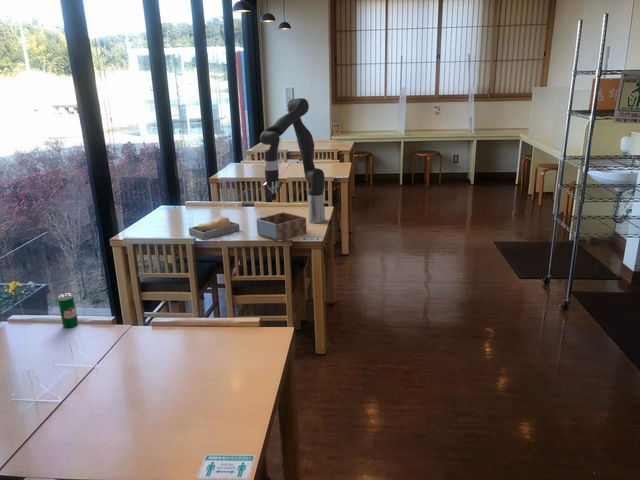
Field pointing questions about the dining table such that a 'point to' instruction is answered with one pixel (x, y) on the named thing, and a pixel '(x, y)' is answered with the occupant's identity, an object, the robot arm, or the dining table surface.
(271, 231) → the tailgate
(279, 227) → the box
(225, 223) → the squash
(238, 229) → the squash crate
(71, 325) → the soda can
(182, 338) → the dining table surface
